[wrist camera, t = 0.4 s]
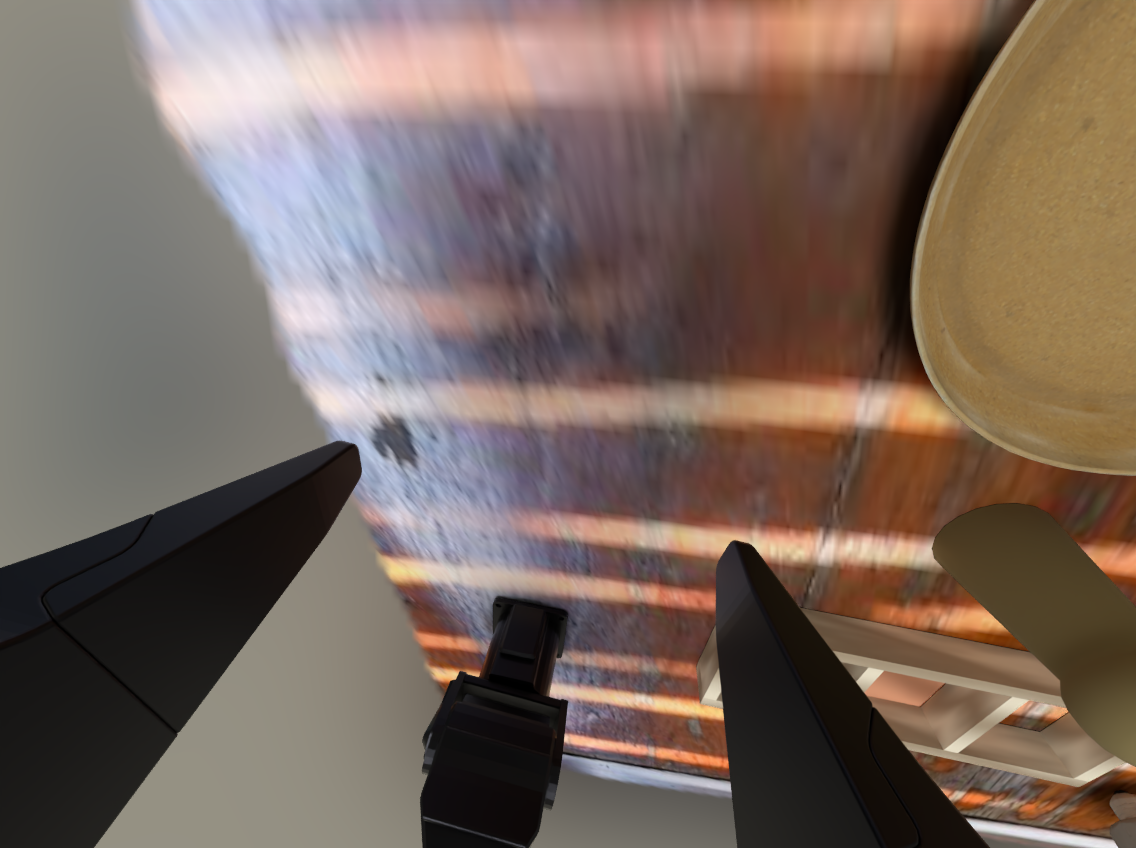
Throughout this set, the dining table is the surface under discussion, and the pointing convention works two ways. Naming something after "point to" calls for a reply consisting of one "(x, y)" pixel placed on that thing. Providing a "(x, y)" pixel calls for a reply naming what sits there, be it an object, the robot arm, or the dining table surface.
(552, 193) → the dining table surface
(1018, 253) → the plant saucer
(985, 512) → the olive chess pawn
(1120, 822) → the light bulb
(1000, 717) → the rack
